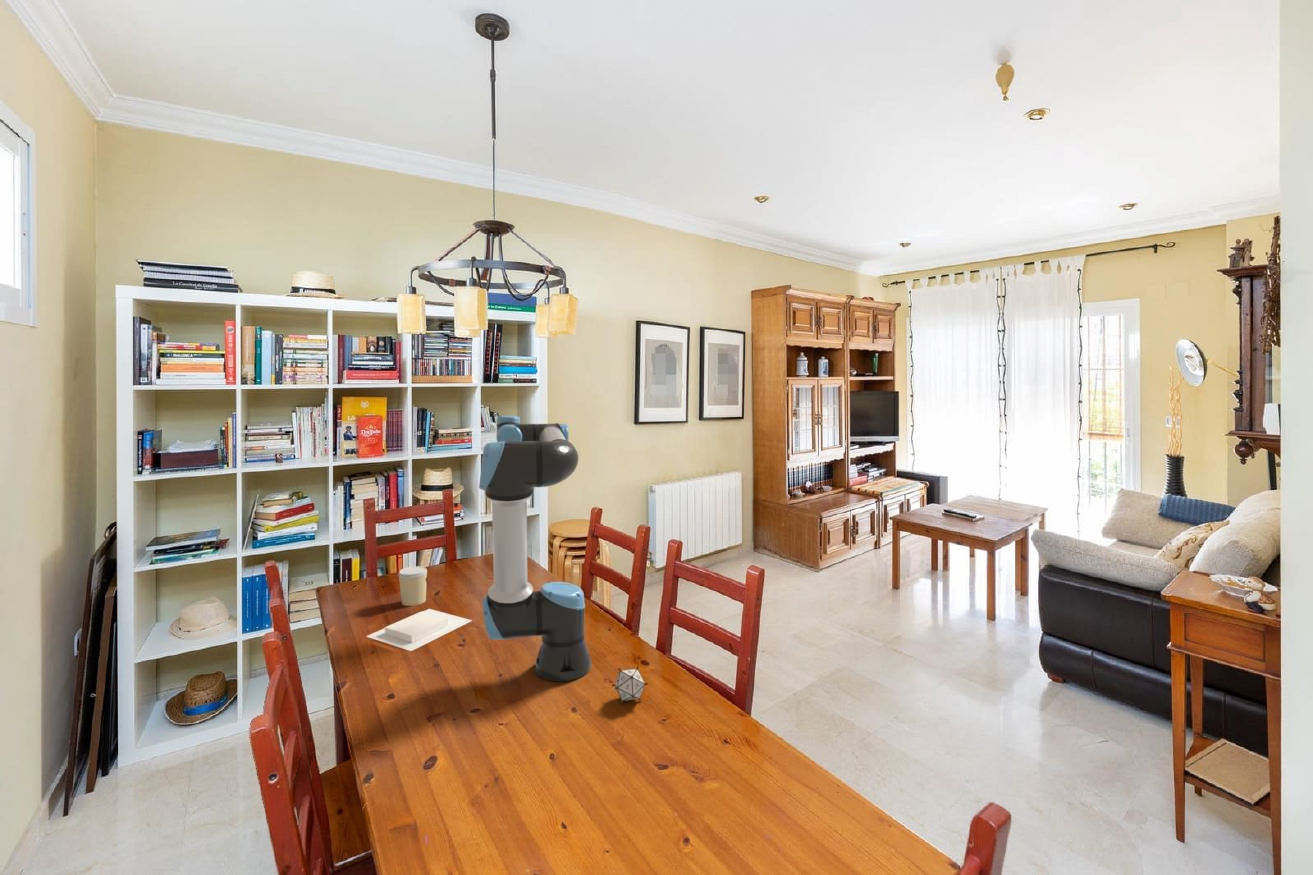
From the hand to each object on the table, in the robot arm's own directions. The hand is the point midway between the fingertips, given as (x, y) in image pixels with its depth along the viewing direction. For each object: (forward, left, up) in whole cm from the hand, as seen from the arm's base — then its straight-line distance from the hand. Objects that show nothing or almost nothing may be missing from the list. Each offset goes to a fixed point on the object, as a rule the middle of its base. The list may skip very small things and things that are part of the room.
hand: (510, 531), depth 192 cm
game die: (-62, +27, -29) cm, 73 cm away
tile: (+16, +18, -27) cm, 36 cm away
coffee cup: (+36, +10, -29) cm, 47 cm away
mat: (+16, +24, -28) cm, 40 cm away
